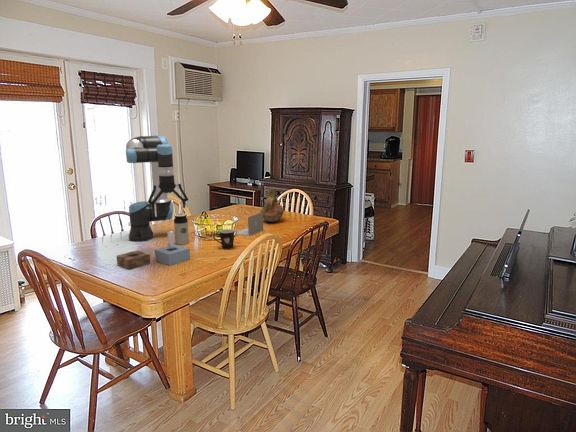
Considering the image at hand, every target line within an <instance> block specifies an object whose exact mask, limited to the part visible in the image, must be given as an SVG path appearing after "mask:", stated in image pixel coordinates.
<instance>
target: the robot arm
mask: <svg viewBox="0 0 576 432" xmlns="http://www.w3.org/2000/svg"><path fill="white" fill-rule="evenodd" d="M167 138H168V137H166V136H164V135H144V136H143V135H139V136H135V137H133V138H131V139H130V140H128V141H127V142H126V145H125V147H126V148H125V156H126V157H125V158H126V163H128V164H139V163H140V164H141V163H142V164H143V163H150V169H151V180H152V191H151V193H150V196H149V197H148V200H145V201H144V200H143V201H137V202H133V203H131V204H130V205H129V206H128V211H129V212H128V214H129V223H130V224H129V225H130V229H129V234H128V240H129V241H131V242H145V241H149V240H153V238H154V237H155V236H154V232H153V230H152V227H151V225H150V224H151V222H160V221H169V220H171V219H172V218H173V216H174V202H173V201H171V198H170V197H169V196H168V194H171V193H174V195H175V196H176V197H178V198H179V200H181V201H180V208H181V213H182V215H184V209H185V208H186V202H187V201H189V198H188V196H187V194H186V193H185V191H184V190H183V188H182V184H181V183H180V182H179V183H175V175H174V174H175V171H174V169H175V168H174V158H173V155H174V154H173V146H172V145H171V144H169V142H168V139H167ZM176 187H177V189H179V192H181V195H182V196H183V197H182V196H181V195H180V194H179V193H178V192H177V191H176V190H175V188H176Z"/></svg>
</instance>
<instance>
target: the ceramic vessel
mask: <svg viewBox="0 0 576 432" xmlns="http://www.w3.org/2000/svg"><path fill="white" fill-rule="evenodd" d="M266 191H267V192H266V196H267V198H266V199H265V202H264V206H263V207H262V208H261V209H260V211H259V213H261V212H263V221H265V222H268V223H276V222H278V221H280V219H282V217H283V215H284V214H283V213H284V212H285V211H284V206H282V204H279V203H278V201H279V199H278V197H277V188H275V187H273V188H267V190H266Z"/></svg>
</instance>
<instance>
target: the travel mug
mask: <svg viewBox="0 0 576 432" xmlns="http://www.w3.org/2000/svg"><path fill="white" fill-rule="evenodd" d="M187 214H188V213H184V215H182V212H181V213H179V212H178V213H175V214H173V216H174V220H173V224H174V241H175V244H176V245H179V246H183V245H187V244H189V243H190V238H189V236H190V235H189V221H188V217H187Z"/></svg>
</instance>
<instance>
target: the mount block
mask: <svg viewBox="0 0 576 432" xmlns="http://www.w3.org/2000/svg"><path fill="white" fill-rule="evenodd" d="M150 264H151V255H150V253H146V252H144V251H141V250H133V251H130V252H126V253H125V252H124V253H122V254H117V255H116V265H117V266H119V267H121V268H124V269H127V270H130V271H131V270H134V269H137V268H140V267H144V266H147V265H150Z"/></svg>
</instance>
